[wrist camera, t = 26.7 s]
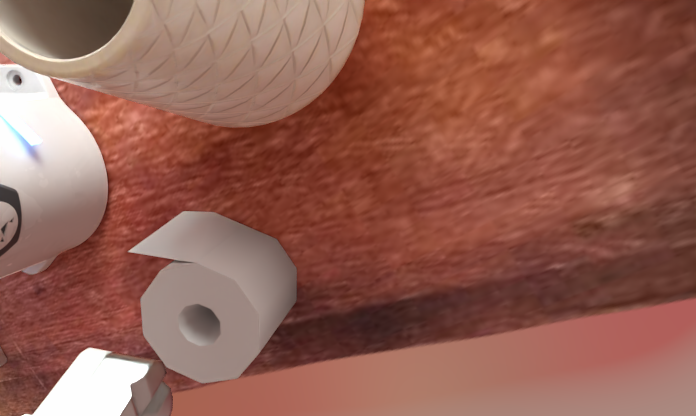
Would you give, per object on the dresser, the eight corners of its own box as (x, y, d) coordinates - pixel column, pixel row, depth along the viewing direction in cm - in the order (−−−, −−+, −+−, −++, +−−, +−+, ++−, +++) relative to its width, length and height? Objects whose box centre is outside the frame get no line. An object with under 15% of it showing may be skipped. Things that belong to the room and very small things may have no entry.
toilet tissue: (168, 192, 50) (106, 223, 42) (313, 254, 48) (278, 299, 40) (144, 283, 53) (83, 328, 45) (280, 344, 51) (242, 402, 43)
